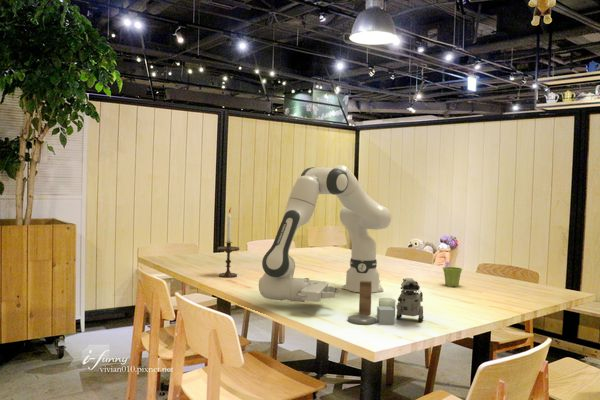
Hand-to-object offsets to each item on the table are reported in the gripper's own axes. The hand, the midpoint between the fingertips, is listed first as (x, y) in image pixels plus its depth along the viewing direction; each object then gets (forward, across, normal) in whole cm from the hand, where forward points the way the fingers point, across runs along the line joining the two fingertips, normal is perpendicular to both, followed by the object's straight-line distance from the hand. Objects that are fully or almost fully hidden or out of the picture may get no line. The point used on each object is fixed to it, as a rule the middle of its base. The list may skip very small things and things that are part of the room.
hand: (336, 292), depth 190 cm
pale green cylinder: (+19, -1, +7) cm, 20 cm away
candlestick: (-63, +54, +7) cm, 83 cm away
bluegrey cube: (+19, -10, +7) cm, 22 cm away
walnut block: (+11, 0, +7) cm, 13 cm away
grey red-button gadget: (+27, -6, +7) cm, 28 cm away
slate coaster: (+11, -11, +7) cm, 17 cm away
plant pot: (+47, +69, +7) cm, 84 cm away
